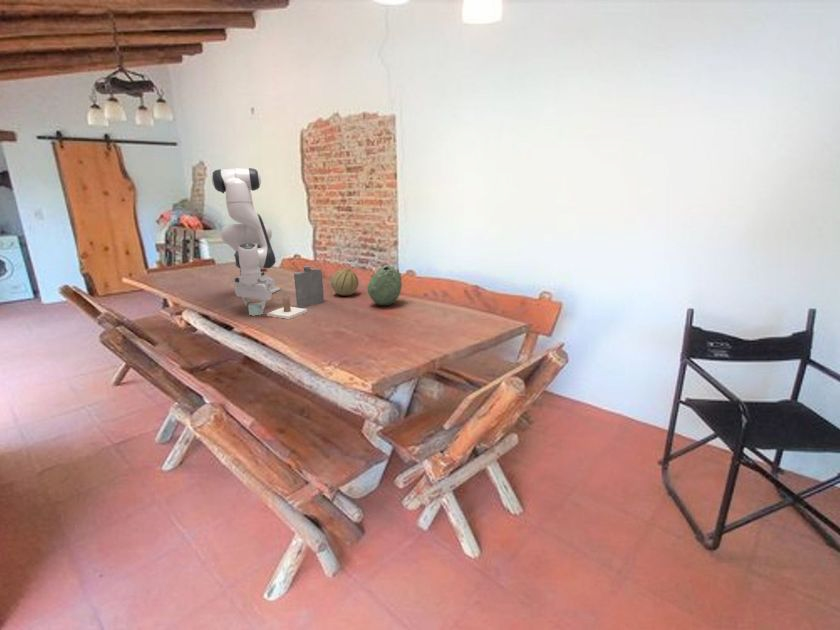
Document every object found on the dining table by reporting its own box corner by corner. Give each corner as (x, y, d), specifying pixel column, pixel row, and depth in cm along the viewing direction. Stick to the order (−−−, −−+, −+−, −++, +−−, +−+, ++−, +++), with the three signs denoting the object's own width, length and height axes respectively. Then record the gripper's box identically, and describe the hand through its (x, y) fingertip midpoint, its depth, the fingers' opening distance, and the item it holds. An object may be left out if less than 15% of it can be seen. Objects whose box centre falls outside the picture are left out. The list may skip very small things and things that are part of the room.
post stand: (286, 308, 217) (284, 292, 215) (307, 312, 212) (305, 295, 209) (267, 316, 206) (265, 298, 204) (288, 319, 201) (287, 301, 198)
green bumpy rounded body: (361, 306, 220) (359, 267, 214) (386, 298, 235) (384, 261, 229) (384, 311, 211) (383, 271, 205) (408, 303, 226) (408, 264, 220)
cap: (256, 311, 214) (255, 301, 212) (266, 312, 211) (265, 303, 210) (246, 314, 208) (245, 305, 207) (256, 316, 206) (255, 306, 204)
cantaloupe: (329, 293, 246) (327, 267, 241) (354, 290, 252) (353, 265, 247) (336, 299, 233) (334, 272, 228) (362, 296, 239) (361, 269, 234)
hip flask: (299, 308, 218) (295, 269, 212) (294, 307, 220) (291, 268, 214) (325, 301, 229) (322, 264, 224) (320, 300, 232) (317, 263, 226)
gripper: (273, 279, 203) (276, 307, 206) (241, 275, 211) (244, 303, 215) (263, 281, 197) (266, 311, 201) (230, 278, 206) (234, 306, 210)
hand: (255, 307), depth 208 cm, fingers open, 8 cm apart
